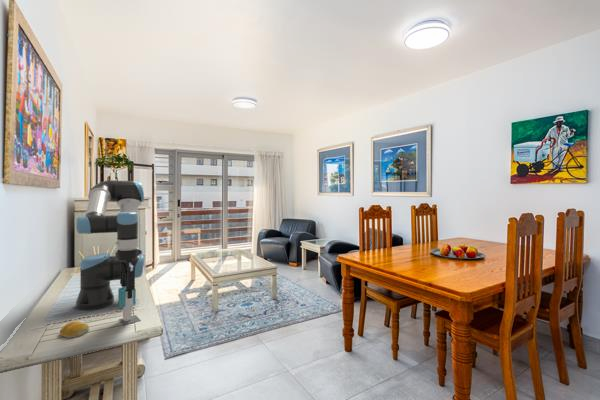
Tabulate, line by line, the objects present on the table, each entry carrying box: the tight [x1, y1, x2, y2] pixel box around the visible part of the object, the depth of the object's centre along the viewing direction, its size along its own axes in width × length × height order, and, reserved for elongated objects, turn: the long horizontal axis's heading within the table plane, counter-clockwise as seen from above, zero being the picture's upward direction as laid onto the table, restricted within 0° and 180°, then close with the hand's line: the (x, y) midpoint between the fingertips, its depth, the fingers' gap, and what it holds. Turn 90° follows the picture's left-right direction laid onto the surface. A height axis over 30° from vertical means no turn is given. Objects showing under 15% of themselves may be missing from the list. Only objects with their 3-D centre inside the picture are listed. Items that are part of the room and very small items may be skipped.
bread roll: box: [59, 320, 89, 339], centre depth 114 cm, size 8×9×4 cm
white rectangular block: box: [122, 305, 133, 321], centre depth 126 cm, size 3×3×7 cm
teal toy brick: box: [117, 287, 137, 309], centre depth 126 cm, size 5×5×7 cm
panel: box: [118, 315, 141, 326], centre depth 126 cm, size 7×6×1 cm
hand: (127, 303), depth 126 cm, fingers closed on teal toy brick, 5 cm apart
